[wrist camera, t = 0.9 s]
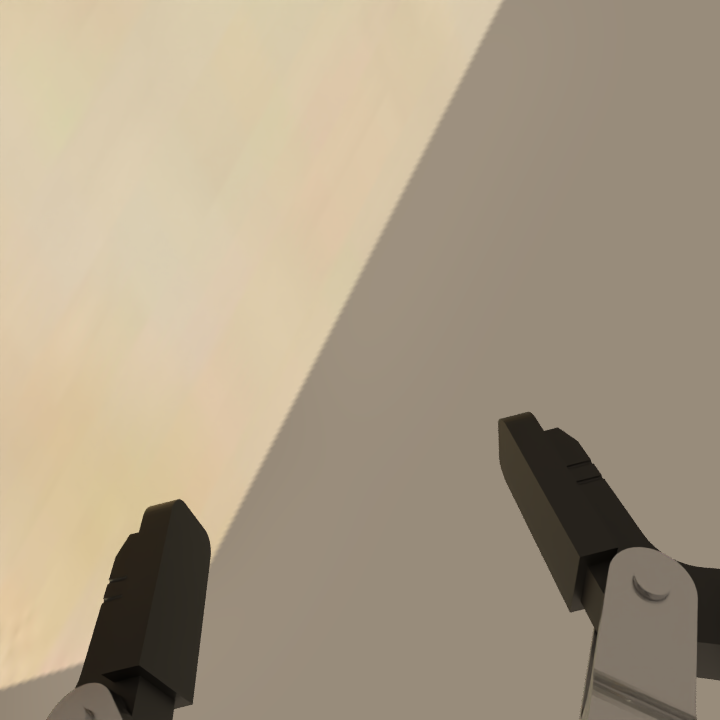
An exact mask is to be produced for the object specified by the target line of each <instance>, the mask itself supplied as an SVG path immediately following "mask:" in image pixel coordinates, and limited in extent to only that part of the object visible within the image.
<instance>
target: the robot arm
mask: <svg viewBox="0 0 720 720" xmlns="http://www.w3.org/2000/svg"><path fill="white" fill-rule="evenodd" d="M498 431H499V432H498V433H499V460H500V465H501V469H502V472H503V475H504V478H505V480H506V483H507V485H508V487H509V489H510V491H511V493H512V495H513V497H514V499H515V501H516V503H517V505H518V507H519V509H520V511H521V513H522V515H523V517H524V519H525V522H526V523H527V526H528V528H529V530H530V532H531V534H532V536H533V538H534V540H535V542H536V544H537V546H538V548H539V550H540V552H541V554H542V556H543V558H544V560H545V562H546V564H547V566H548V568H549V570H550V572H551V574H552V577H553V579H554V581H555V582H556V585H557V587H558V589H559V591H560V593H561V595H562V597H563V599H564V600H565V603H566V605H567V607H568V609H569V611H570V612H574V611H578V610H582V609H585V610H586V612H587V615H588V616H589V618H590V620H591V622H592V624H593V626H594V629H593V635H592V641H591V647H590V654H589V661H588V666H587V673H586V679H585V686H584V691H583V698H582V705H581V710H580V716H579V720H697V718H696V677H699V678H707V679H714V680H720V569H714V568H702V567H695V566H691V565H687V564H684V563H681V562H678V561H676V560H674V559H672V558H671V557H669V556H667V555H666V554H664V553H662V552H661V551H659V550H658V549H657V548H655V547H654V546H653V545H652V544H651V543H650V542H649V541H648V540H647V538H646V537H645V536H644V535H643V533H642V532H641V530H640V529H639V527H637V525H636V523H635V522H634V520H633V519H632V518H631V516H630V515H629V513H628V512H627V510H626V509H625V508H624V506H623V505H622V503H621V502H620V501H619V499H618V498H617V496H616V495H615V493H614V492H613V491H612V489H611V488H610V486H609V485H608V484H607V482H606V481H605V479H603V478H602V476H601V474H600V473H599V471H598V470H597V468H596V466H595V465H594V464H592V463H591V460H590V458H589V457H588V455H587V454H586V452H585V451H584V450H583V448H582V447H581V445H580V444H579V442H578V441H577V440H575V439H574V438H572V437H571V436H569V435H568V434H566V433H565V432H564V431H562V430H561V429H559V428H554V429H550V430H547V431H543V429H542V427H541V426H540V424H539V423H538V421H537V420H536V418H535V417H534V415H533V414H532V413H531V412H526V413H522V414H518V415H514V416H510V417H506V418H502V419H499V421H498ZM210 557H211V547H210V541H209V537H208V535H207V532H206V531H205V529H204V528H203V527H202V525H201V524H200V523H199V521H198V520H197V519H196V517H195V516H194V515H193V513H192V512H191V511H190V509H189V508H188V507H187V505H186V504H185V503H184V502H183V501H182V500H180V499H178V500H174V501H170V502H166V503H162V504H158V505H154V506H150V507H148V508H147V509H146V511H145V513H144V515H143V519H142V523H141V527H140V530H139V533H135V534H131V535H129V537H128V539H127V540H126V542H125V543H124V545H123V546H122V548H121V549H120V551H119V553H118V554H117V556H116V558H115V561H114V564H113V568H112V571H111V575H110V578H109V581H110V583H109V584H108V585H107V588H106V591H105V595H104V598H103V599H104V603H103V604H102V605H101V608H100V612H99V615H98V618H97V622H96V625H95V629H94V632H93V635H92V639H91V642H90V645H89V649H88V652H87V656H86V659H85V662H84V666H83V669H82V672H81V675H80V678H79V681H78V683H77V686H76V688H75V689H74V690H73V691H71V692H70V693H68V694H67V695H66V696H65V697H64V698H63V699H62V700H61V701H60V702H59V703H58V704H57V705H56V706H55V708H54V709H53V710H52V712H51V713H50V714H49V716H48V718H47V719H46V720H172V719H173V712H174V709H176V708H180V707H184V706H188V705H192V704H193V697H194V688H195V680H196V672H197V663H198V656H199V647H200V638H201V631H202V623H203V614H204V605H205V598H206V590H207V581H208V573H209V565H210Z"/></svg>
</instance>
